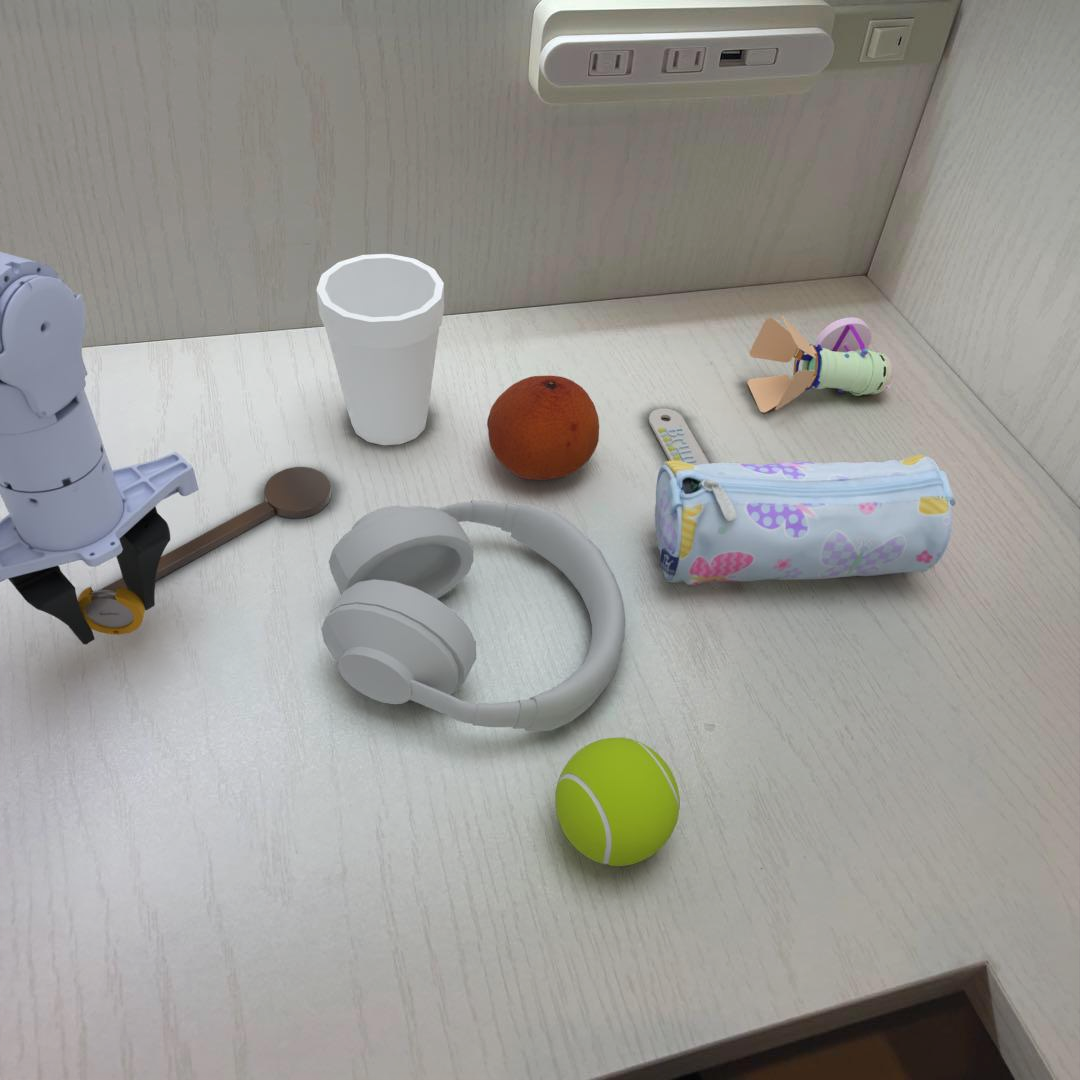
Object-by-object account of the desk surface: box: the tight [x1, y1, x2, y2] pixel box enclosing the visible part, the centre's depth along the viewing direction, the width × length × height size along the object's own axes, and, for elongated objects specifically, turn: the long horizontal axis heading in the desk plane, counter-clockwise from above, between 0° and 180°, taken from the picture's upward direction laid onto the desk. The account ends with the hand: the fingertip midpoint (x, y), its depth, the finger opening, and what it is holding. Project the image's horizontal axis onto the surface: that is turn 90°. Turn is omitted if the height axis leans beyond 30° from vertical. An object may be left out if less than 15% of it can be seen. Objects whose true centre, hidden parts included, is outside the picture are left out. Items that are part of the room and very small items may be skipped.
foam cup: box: [315, 253, 445, 446], centre depth 78 cm, size 10×9×13 cm
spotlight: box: [747, 315, 894, 413], centre depth 87 cm, size 12×8×8 cm
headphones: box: [320, 500, 626, 733], centre depth 65 cm, size 18×8×20 cm
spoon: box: [100, 466, 332, 592], centre depth 71 cm, size 20×5×1 cm, turn 135°
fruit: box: [486, 375, 600, 481], centre depth 77 cm, size 9×9×8 cm
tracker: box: [77, 586, 146, 636], centre depth 62 cm, size 4×1×4 cm, turn 94°
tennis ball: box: [554, 737, 681, 867], centre depth 55 cm, size 7×7×7 cm
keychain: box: [648, 407, 710, 465], centre depth 82 cm, size 10×1×3 cm
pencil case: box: [654, 454, 956, 586], centre depth 70 cm, size 21×9×10 cm, turn 94°
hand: (112, 616), depth 62 cm, fingers closed on tracker, 3 cm apart
